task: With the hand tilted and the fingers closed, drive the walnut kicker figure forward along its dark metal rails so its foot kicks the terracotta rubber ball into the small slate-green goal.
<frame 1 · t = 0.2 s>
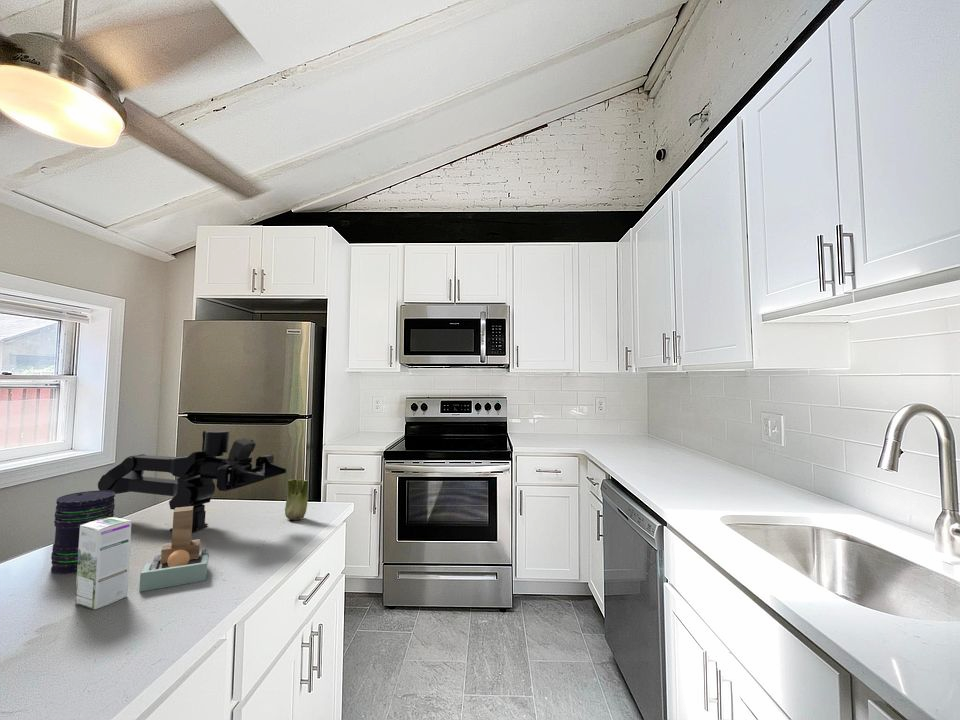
hand: (275, 474, 116), 17 cm above the worktop, tool horizontal, fingers open, 9 cm apart
ball: (178, 568, 95), on the worktop
rails: (180, 560, 99), on the worktop
goal: (175, 578, 91), on the worktop
kicker: (182, 533, 99), point 6 cm above the worktop, slide at 0.0 cm
syrup box: (101, 601, 81), on the worktop
storage jar: (81, 565, 95), on the worktop
fennel bulb: (295, 520, 130), on the worktop
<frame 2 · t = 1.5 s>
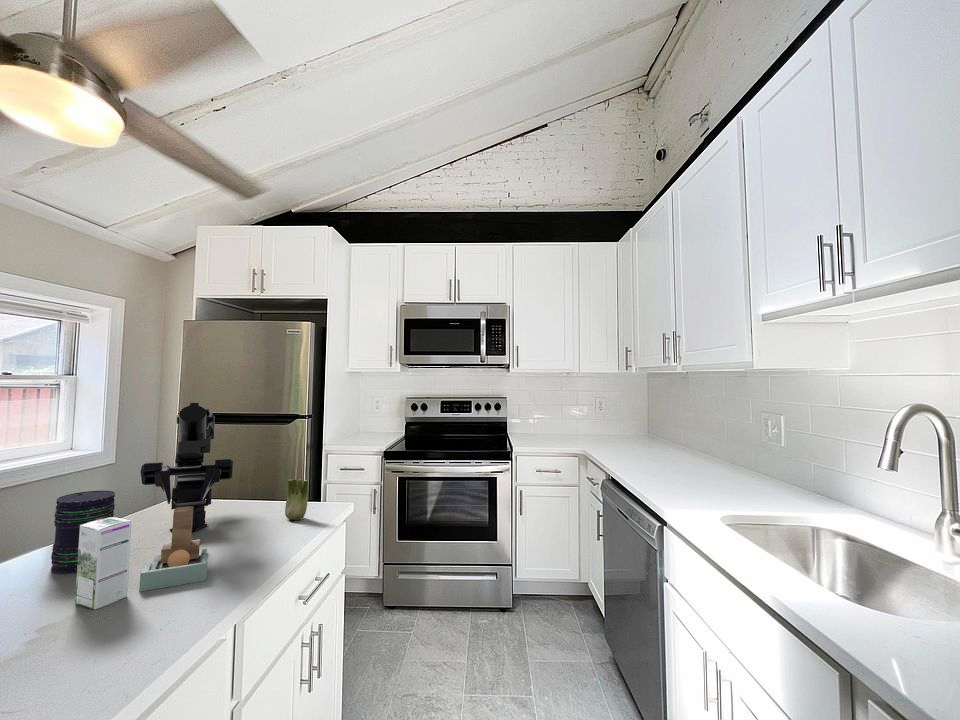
hand: (185, 501, 102), 13 cm above the worktop, tool tilted 45°, fingers open, 6 cm apart
nothing on the worktop moved.
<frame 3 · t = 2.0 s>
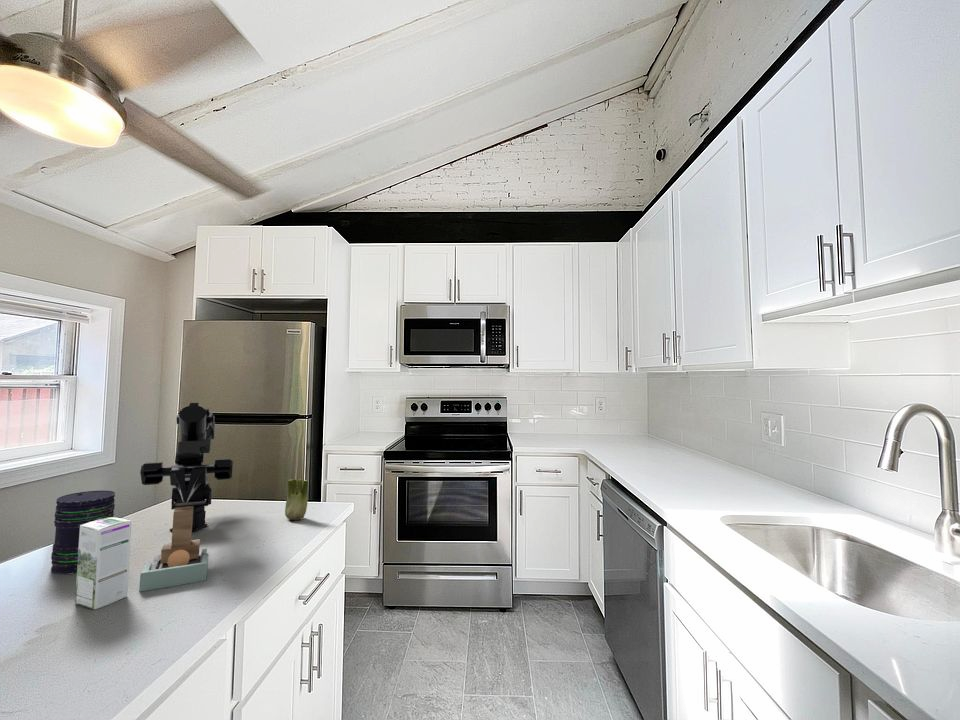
hand: (185, 501, 102), 13 cm above the worktop, tool tilted 45°, fingers closed
nothing on the worktop moved.
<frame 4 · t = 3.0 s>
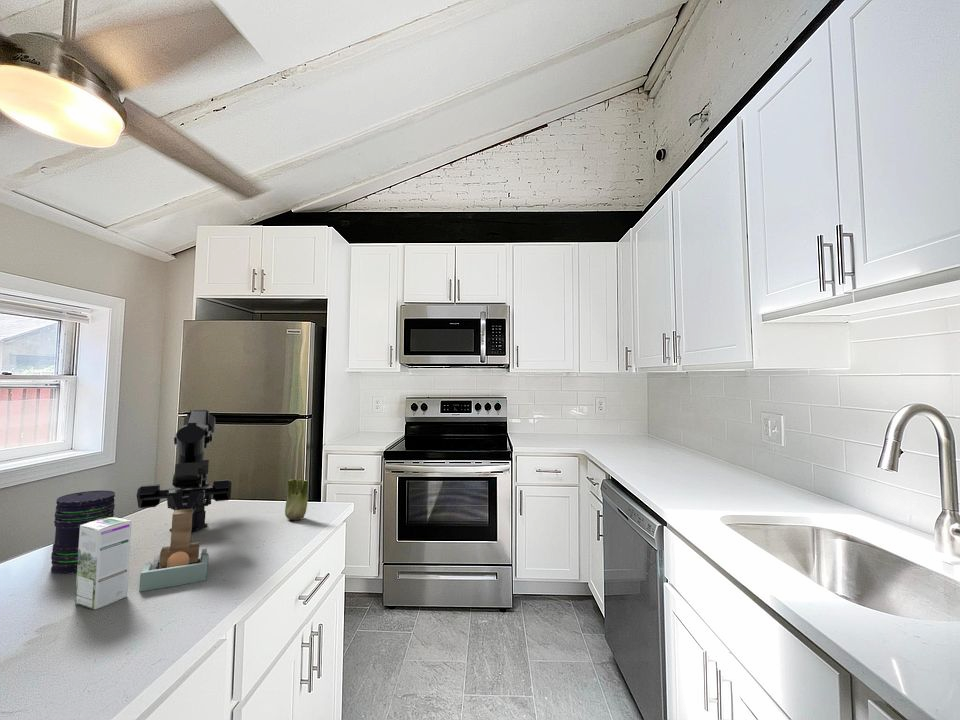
hand: (182, 525, 100), 8 cm above the worktop, tool tilted 45°, fingers closed, pressing on kicker
ball: (177, 568, 95), on the worktop, tilted 23°
kicker: (181, 536, 98), point 6 cm above the worktop, slide at 2.1 cm, touching gripper
everything else where it was.
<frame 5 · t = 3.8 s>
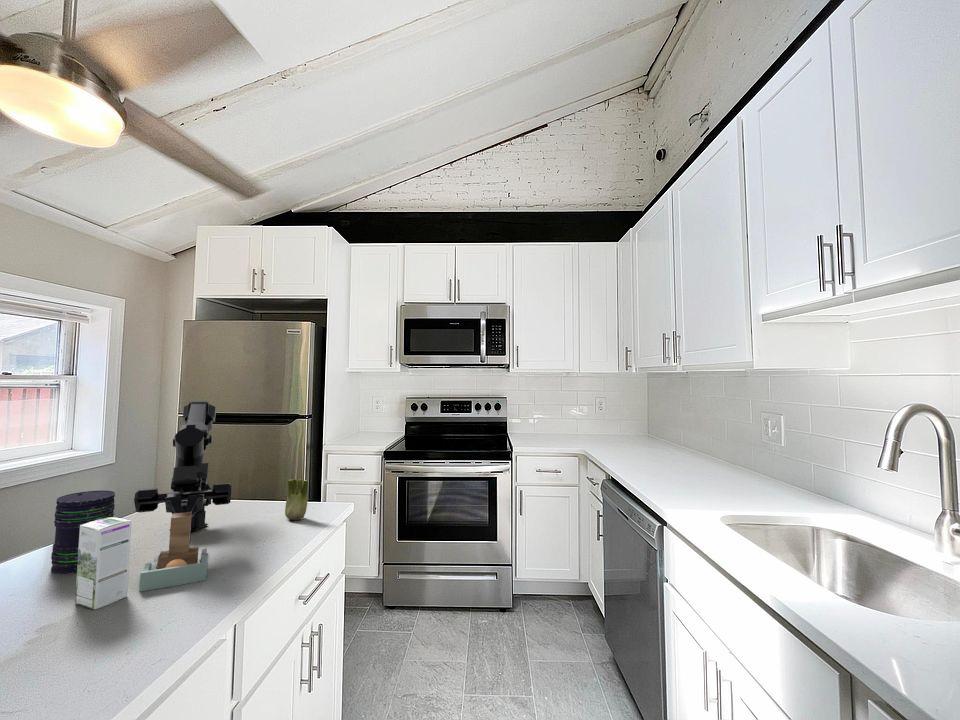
hand: (181, 530, 97), 8 cm above the worktop, tool tilted 45°, fingers closed
ball: (176, 559, 91), point 4 cm above the worktop, tilted 156°
kicker: (179, 540, 95), point 6 cm above the worktop, slide at 4.9 cm
everything else where it was.
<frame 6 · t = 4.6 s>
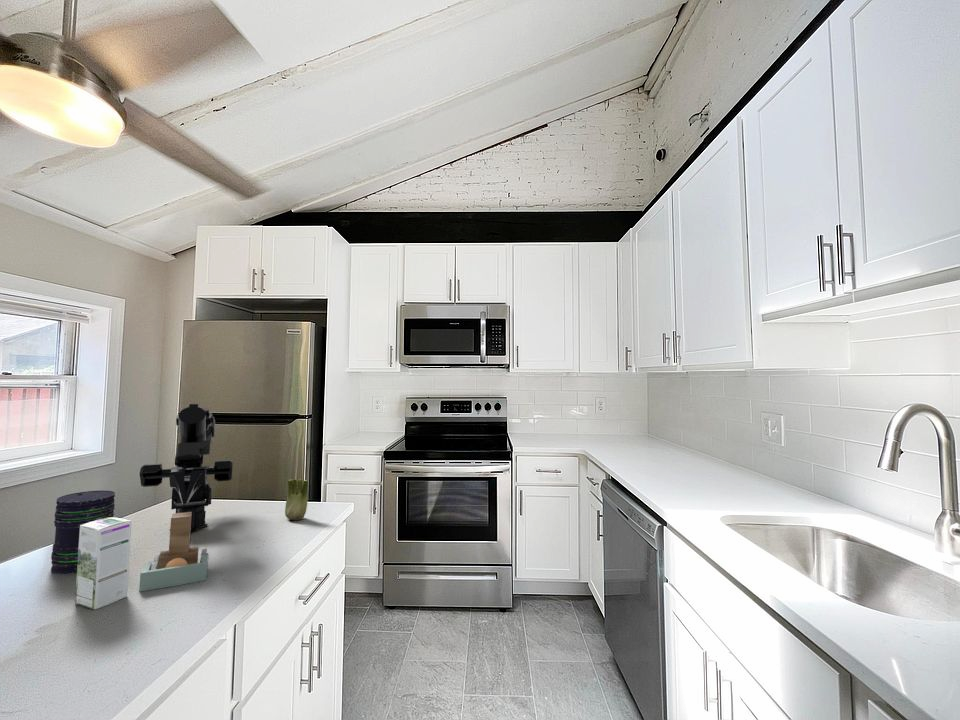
hand: (184, 503, 101), 12 cm above the worktop, tool tilted 45°, fingers closed
ball: (177, 558, 92), point 3 cm above the worktop, tilted 137°
everything else where it was.
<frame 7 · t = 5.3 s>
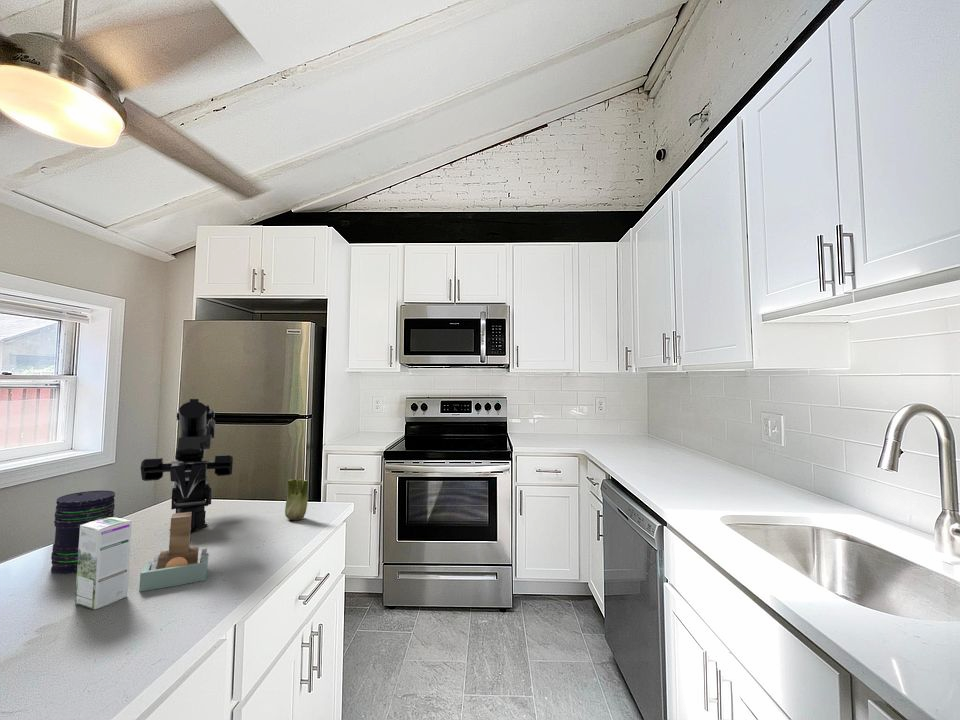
hand: (185, 497, 102), 14 cm above the worktop, tool tilted 45°, fingers closed
ball: (177, 559, 93), point 3 cm above the worktop, tilted 120°
everything else where it was.
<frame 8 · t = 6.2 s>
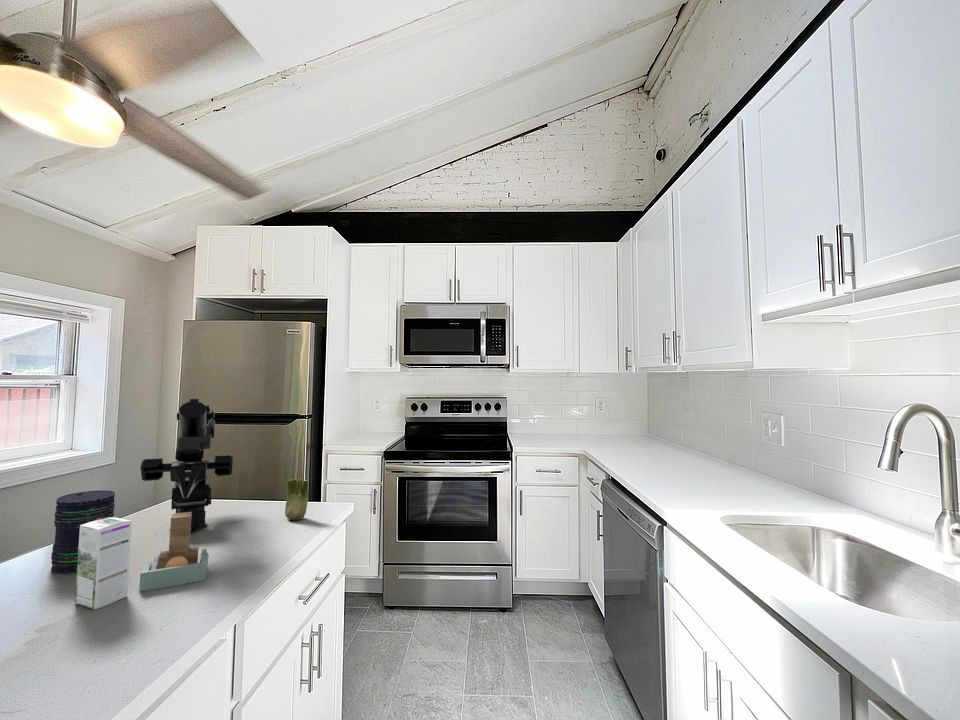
hand: (185, 497, 102), 14 cm above the worktop, tool tilted 45°, fingers closed
ball: (177, 560, 93), point 3 cm above the worktop, tilted 109°
everything else where it was.
at the end: ball 2.9 cm from the goal (horizontally); ball moved 3.4 cm from its start; kicker slide at 4.9 cm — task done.
